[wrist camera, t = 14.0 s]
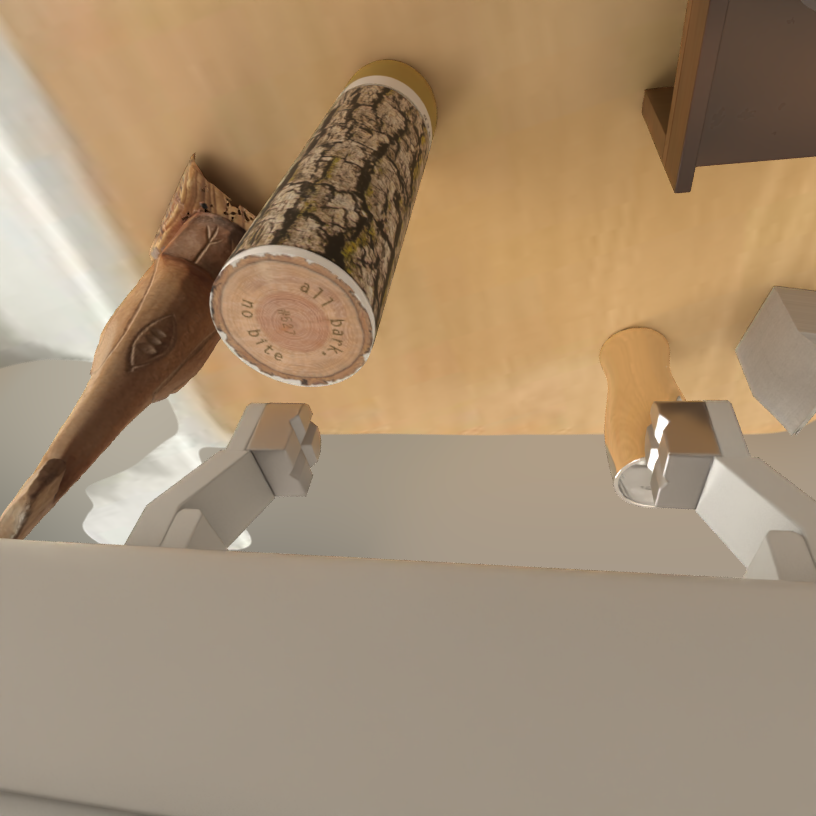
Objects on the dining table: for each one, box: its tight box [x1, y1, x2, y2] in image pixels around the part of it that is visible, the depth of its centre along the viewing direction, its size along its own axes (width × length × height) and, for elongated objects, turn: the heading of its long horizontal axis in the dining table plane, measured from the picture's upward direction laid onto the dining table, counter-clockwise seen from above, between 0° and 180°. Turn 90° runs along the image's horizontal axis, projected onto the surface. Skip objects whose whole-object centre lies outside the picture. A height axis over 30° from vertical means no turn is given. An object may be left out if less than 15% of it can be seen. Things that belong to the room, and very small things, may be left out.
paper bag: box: [735, 286, 816, 436], centre depth 44 cm, size 4×7×10 cm, turn 177°
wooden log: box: [210, 60, 437, 387], centre depth 32 cm, size 7×7×25 cm
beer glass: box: [599, 327, 686, 508], centre depth 47 cm, size 7×7×15 cm
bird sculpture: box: [0, 153, 256, 540], centre depth 39 cm, size 11×12×32 cm
